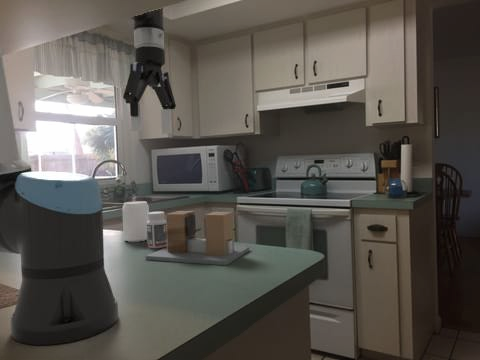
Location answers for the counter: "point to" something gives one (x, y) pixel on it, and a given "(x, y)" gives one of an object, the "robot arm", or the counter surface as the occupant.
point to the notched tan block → (180, 230)
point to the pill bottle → (156, 230)
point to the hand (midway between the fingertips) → (152, 132)
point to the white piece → (135, 221)
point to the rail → (208, 244)
